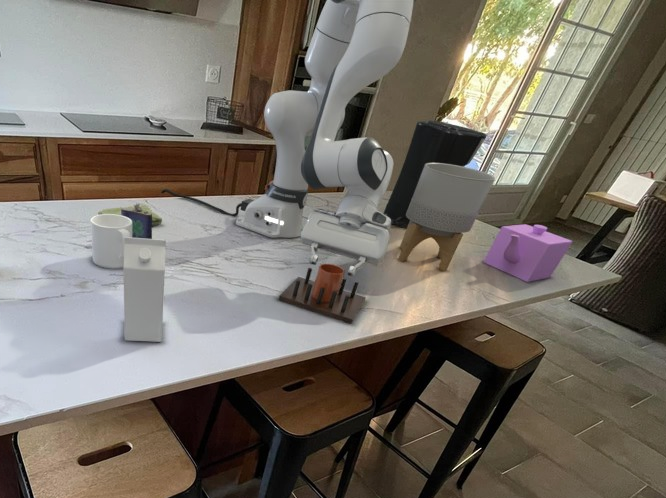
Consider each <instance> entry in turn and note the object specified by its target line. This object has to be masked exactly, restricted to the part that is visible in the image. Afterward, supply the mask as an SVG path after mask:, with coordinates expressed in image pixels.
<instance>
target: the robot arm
mask: <svg viewBox="0 0 666 498" xmlns="http://www.w3.org/2000/svg"><path fill="white" fill-rule="evenodd" d="M416 2H417V0H326V1H325V3H324V6H323V8H322V10H321V12H320V15H319V18H318V20H317V23H316V25H315V29H314V31H313V33H312V36H311V39H310V42H309V44H308V48H307V51H306V53H305V54H306V55H305V56H304V67H305V69H306V71H307V73H308V75H309V76H310V78H311V80H310V85H309V88H308V90H307V91H301V90H294V89H293V90H292V89H291V90H290V89H289V90H288V89H287V90H284V91H279V92H275V93H272V95H270V97H269V98H268V100H267V102H266V103H265V106H264V112H263V113H264V114H263V117H264V124H265V126H266V128H267V130H268V131H269V132H270V134H271V135H272V138H273V140H274V143H275V149H276V160H275V161H276V162H275V169H274V175H273V180H271V181H270V182H269V183H267V184H266V185H264V187H265V188H264V190H265V193H264V194H262V195H261V196H259V197H257V198H256V199H251V198H248V199H244V200H242V201H241V202H240V203H238V204H237V205H236V207H235V212H234V213H230V212H227V211H225V210H224V209H222V208H219V207H217V206H215V205H212V204H210V203H209V202H205V201H203V200H201V199H198V198H195V197H192V196H188V195H185V194H180V193H176V192H173V191H172V190H170V189H168V188H164V189H162V190H160V194H164V193H168V194H170V195H172V196H173V197H177V198H181V199H185V200H189V201H193V202H196V203H199V204H201V205H204V206H206V207H207V208H210V209H212V210H214V211H217V212H219V213H221V214H223V215H227V216H231V217H237V216H238V215H239V211H243V212H244V213H243V214H242V215H240V216H238V217H237V218H236V221H235V225H236V226H238V227H241V228H244V229H247V230H249V231H252V232H255V233H258V234H261V235H263V236H265V237H268V238H272V239H277V238H285V239H286V238H287V239H288V238H291V239H292V238H297V237H300V240H301V241H300V242H301V243H302V245H304V246H309V247H310V251H311V257H310V258H309V264H311V265H313V266H316V265H317V262H318V261H319V255H317V254H316V253H317V252H318V250H322V251H325V252H329V253H333V254H336V255H339V256H343V257H346V258H350V259H353V260H357V261H358V262H357V263H356V264H355V265H350V266H349V269H348V271H347V276H350V277H355V275H356V272H357V271H358V270H360V269H361V268H363V267H364V266H365V264H370V265H374V266H379V265H381V264H382V263H383V261H384V258H385V255H386V252H387V248H388V244H389V240H390V231H391V226H392V225H391V219H390V218H389V217H387V216H386V215H384V213H383V212H382V211H380V210H379V205H380V204H379V203H380V202H381V201H382V200H383V198H384V197H385V195H386V192H387V190H388V188H389V185H390V182H391V179H392V175H393V170H394V165H395V163H394V159H393V156H392V155H391V154H390V153H389V152H388V151H386V150H385V149H383V147H382V146H381V144H380V143H379V142H378V141H377V140H376V139H375V138H373V137H369V136H367V137H357V138H356V137H354V138H349V139H341V140H336V138H337V137H336V136H337V134H338V131H339V130H340V129H341V127H342V126H343V123H344V120H345V118H346V117H345V116H346V107H347V105H348V104H349V102H350V101H351V100H352V99H353V98H354V97H355V96H356V95H357V94H358V93H360V92H361V91H362V90H364V89H365V88H367V87H368V86H370V85H371V84H373V83H376V82H377V81H378V80H380V79H382V78H384V77H385V76H386V75H387V74H389V72H391V71H392V70H393V69H394V68H395V66H396V65H397V64H398V63H399V62H400V60H401V58H402V55H403V53H404V51H405V48H406V44H407V40H408V36H409V31H410V26H411V21H412V16H413V9H414V5H415V3H416ZM306 137H307V138H310V140H309V143H308V144H307V146H306V148H305V141H306V140H305V139H306ZM309 187H310V188H311V189H312V190H323V189H327V188H328V189H329V188H338V187H339V188H340V187H341V188H343V187H345V188H346V190H347V191H346V193H345V194H344V196H343V197H342V199H341V201H340V203H339V205H338V207H337V209H336V211H332V210H326V209H324V208H318V209H313V210H311V211H310V213H309V215H308V217H307V222H306V223H305V224H304V227H303V214H304V208H305V206H306V204H307V200H308V195H309V194H308V193H309Z"/></svg>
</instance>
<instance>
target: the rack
mask: <svg viewBox="0 0 666 498" xmlns="http://www.w3.org/2000/svg"><path fill="white" fill-rule="evenodd" d="M312 271H313V268H312V267H308V268H307V271H306V275H305V277H301V276H297V277H296V278H295V279H294V281H292V282H291V283H290V284H289V285H288V286H287V288H285V289H284V291H282V293H280V294H279V297H278V301H281V302H284V303H287V304H289V305H293V306H295V307H299V308H301V309H305V310H307V311H310V312H314V313H317V314H320V315H323V316H326V317H329V318H332V319H334V320H339V321H341V322H344V323H348V324H350V325H352V324H353V322H354V321H355V319H356V318H357V315H358V314H359V312H360V310H361V308H362V306H363V305H364V303H365V301H366V296H362V295H360V294H356V293H357V291H358V287H359V284H360V282H359V281H354V284H353V286H352V289H351V292H350V291H347V290H345V287H346V284H347V281H348V278H346V277H343V279H342V282H341V285H340V289H339V292H338V295H337V291H333V293H332V297H331V300H330V302H323V301H321V300H322V297H323V293H324V290H325V288H324V287H321V288H320V292H319V295H318V298H317V299H315V298H314V297H313V296H312V291H313V287H314V284H315V281H314V280H311V276H312V275H311V274H312ZM336 295H337V298H336ZM335 299H336V300H335Z"/></svg>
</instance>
